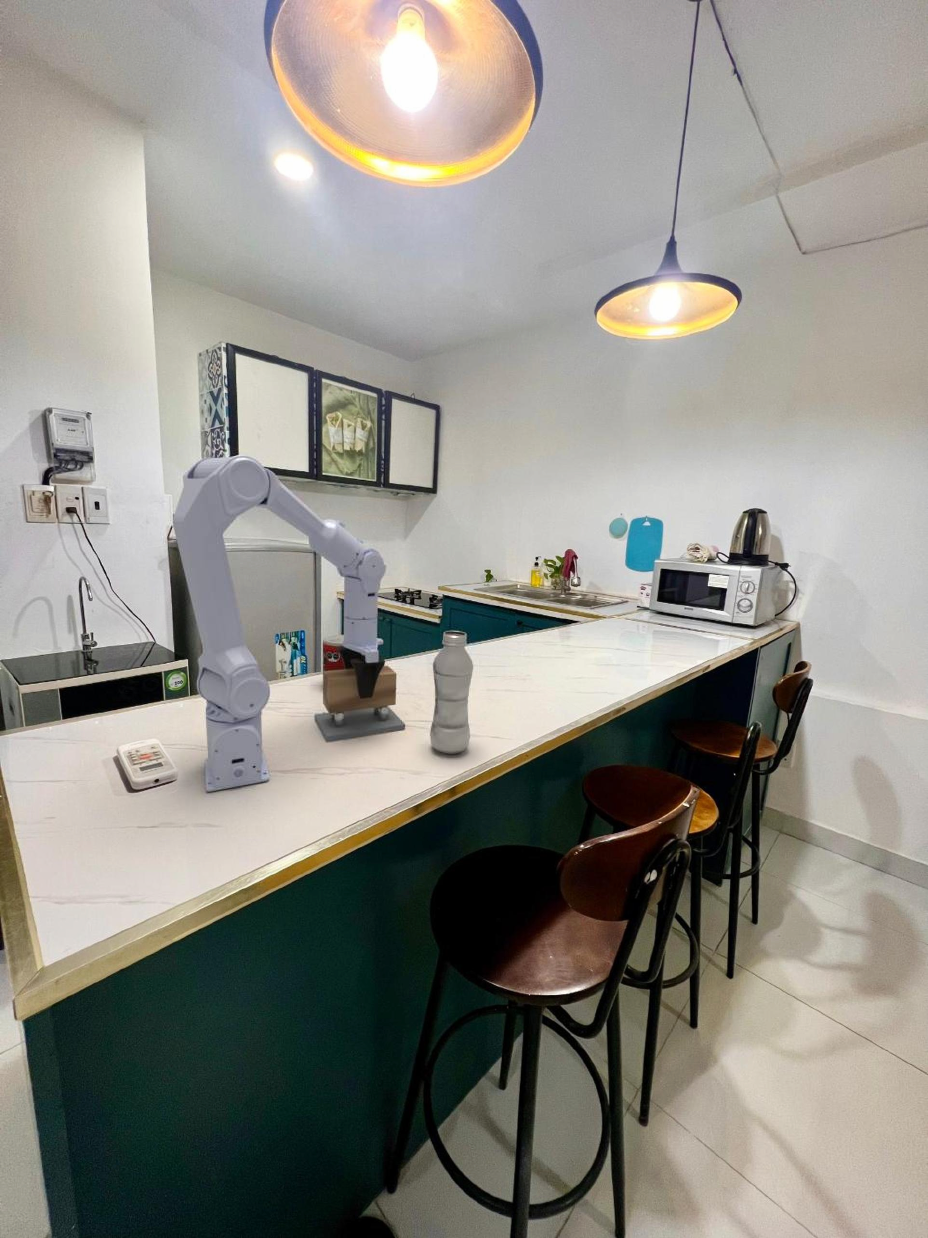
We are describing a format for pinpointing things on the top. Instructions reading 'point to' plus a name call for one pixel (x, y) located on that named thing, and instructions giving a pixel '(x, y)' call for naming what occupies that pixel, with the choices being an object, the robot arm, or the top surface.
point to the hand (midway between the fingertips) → (359, 690)
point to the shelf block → (356, 690)
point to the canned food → (332, 653)
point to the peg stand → (358, 723)
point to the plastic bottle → (451, 695)
